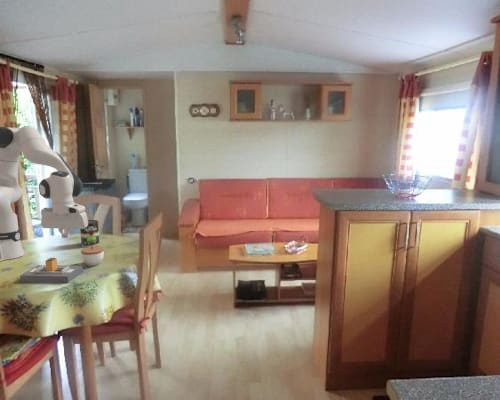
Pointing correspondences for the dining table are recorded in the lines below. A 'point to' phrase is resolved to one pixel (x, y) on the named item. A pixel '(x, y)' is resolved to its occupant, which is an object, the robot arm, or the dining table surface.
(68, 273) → the panel
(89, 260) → the lidded jar
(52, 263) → the lever
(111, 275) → the dining table surface
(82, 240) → the coffee can
